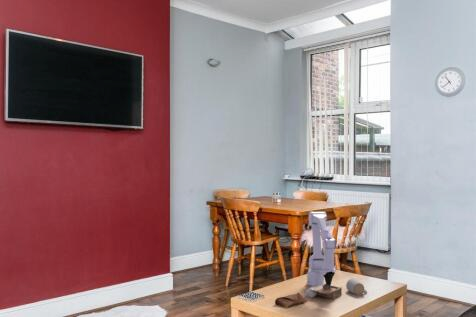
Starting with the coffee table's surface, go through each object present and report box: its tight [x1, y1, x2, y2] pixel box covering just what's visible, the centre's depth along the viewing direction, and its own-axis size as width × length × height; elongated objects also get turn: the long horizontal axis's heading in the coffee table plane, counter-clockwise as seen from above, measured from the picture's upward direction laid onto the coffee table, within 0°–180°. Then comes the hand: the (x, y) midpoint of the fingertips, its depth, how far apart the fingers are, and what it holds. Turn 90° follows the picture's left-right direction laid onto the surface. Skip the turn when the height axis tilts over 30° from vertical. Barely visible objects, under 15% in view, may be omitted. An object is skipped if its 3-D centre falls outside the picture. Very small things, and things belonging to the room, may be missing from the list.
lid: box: [311, 283, 337, 295], centre depth 233 cm, size 10×10×2 cm
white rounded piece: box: [304, 286, 319, 299], centre depth 237 cm, size 6×5×5 cm
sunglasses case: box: [274, 292, 308, 309], centre depth 226 cm, size 18×7×7 cm, turn 130°
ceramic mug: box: [346, 278, 368, 296], centre depth 244 cm, size 11×8×8 cm
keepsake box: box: [317, 284, 343, 300], centre depth 239 cm, size 10×10×4 cm
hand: (328, 285), depth 238 cm, fingers closed
